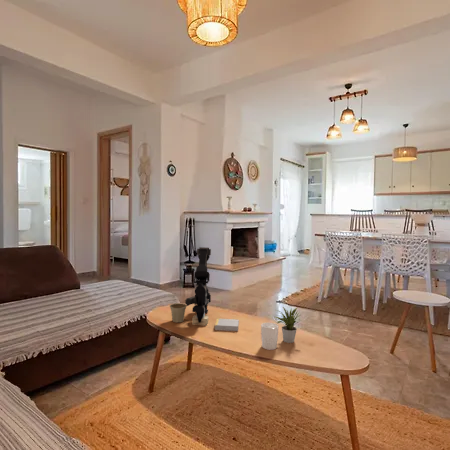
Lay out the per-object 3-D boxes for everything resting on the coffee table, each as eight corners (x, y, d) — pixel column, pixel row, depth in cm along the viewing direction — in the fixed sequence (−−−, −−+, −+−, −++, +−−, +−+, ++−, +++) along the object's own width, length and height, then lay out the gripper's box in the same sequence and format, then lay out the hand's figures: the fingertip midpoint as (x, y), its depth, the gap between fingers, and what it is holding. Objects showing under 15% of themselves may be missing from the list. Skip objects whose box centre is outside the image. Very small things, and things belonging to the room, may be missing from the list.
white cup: (273, 352, 143) (274, 329, 142) (257, 347, 147) (258, 325, 147) (280, 346, 149) (281, 324, 149) (265, 342, 154) (265, 321, 153)
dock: (217, 322, 179) (217, 318, 179) (238, 324, 178) (238, 319, 178) (214, 329, 168) (215, 324, 168) (238, 331, 167) (238, 326, 167)
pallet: (192, 324, 175) (192, 318, 175) (194, 321, 181) (194, 315, 181) (206, 325, 175) (207, 319, 174) (208, 321, 181) (208, 315, 180)
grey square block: (196, 317, 176) (196, 312, 176) (197, 315, 180) (197, 310, 180) (203, 318, 176) (203, 312, 176) (204, 316, 180) (204, 310, 180)
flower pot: (185, 324, 176) (185, 308, 176) (167, 323, 176) (168, 307, 176) (187, 318, 186) (187, 303, 185) (171, 318, 186) (171, 303, 185)
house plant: (282, 332, 167) (283, 301, 167) (307, 338, 159) (309, 305, 159) (269, 340, 156) (270, 307, 155) (296, 348, 148) (297, 312, 147)
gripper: (189, 287, 187) (189, 314, 188) (183, 295, 169) (182, 325, 169) (208, 288, 186) (208, 315, 187) (204, 296, 168) (203, 326, 168)
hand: (200, 320), depth 178 cm, fingers closed on pallet, 6 cm apart
